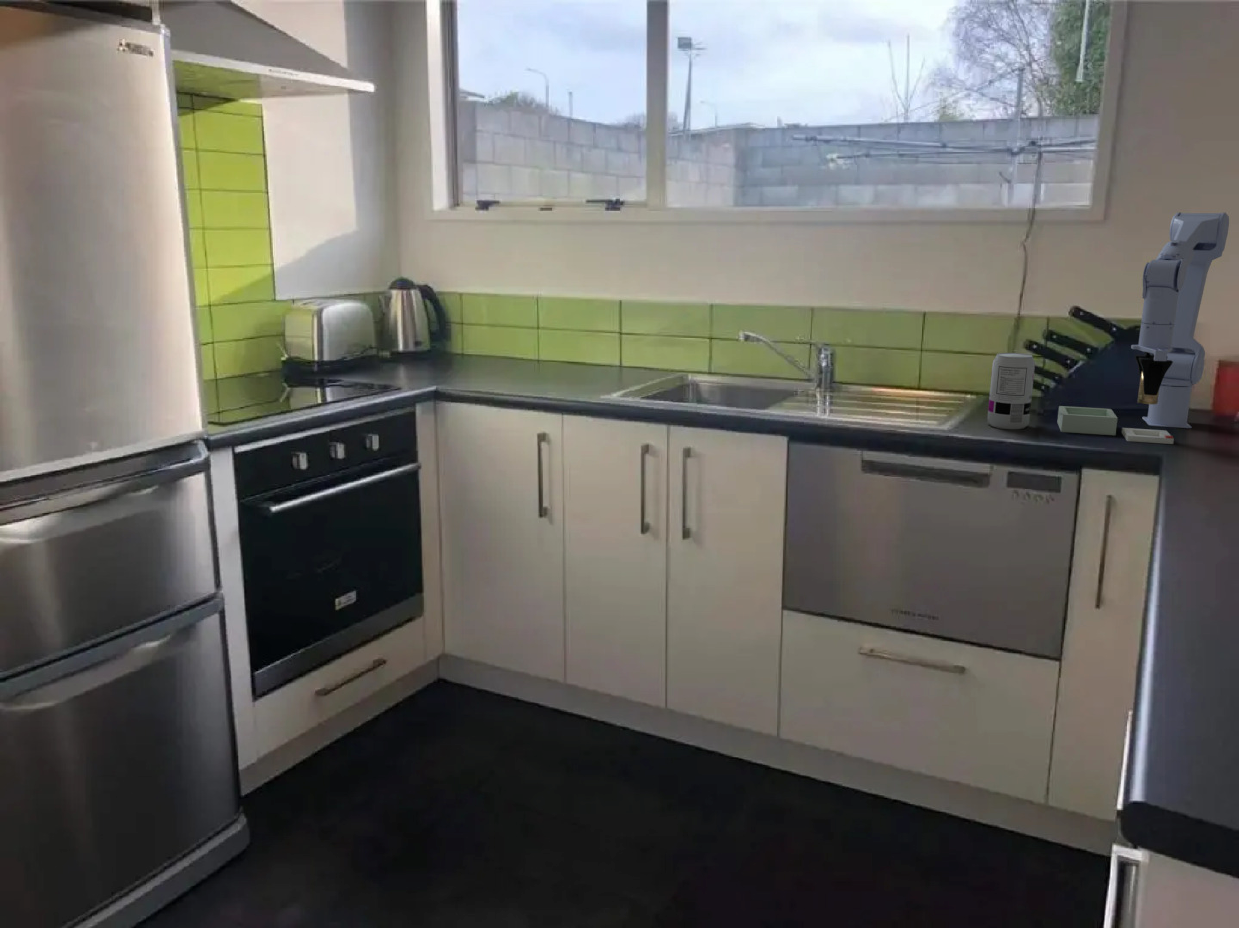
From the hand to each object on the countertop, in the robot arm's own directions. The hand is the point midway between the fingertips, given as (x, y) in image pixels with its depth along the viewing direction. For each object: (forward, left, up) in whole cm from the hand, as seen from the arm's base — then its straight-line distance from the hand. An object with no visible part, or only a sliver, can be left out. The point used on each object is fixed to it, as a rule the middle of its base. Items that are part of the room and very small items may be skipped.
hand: (1148, 393), depth 197 cm
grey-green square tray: (-6, -10, -9) cm, 15 cm away
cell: (0, 0, -2) cm, 2 cm away
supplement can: (-6, -25, -10) cm, 27 cm away
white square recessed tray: (0, +1, -9) cm, 9 cm away
